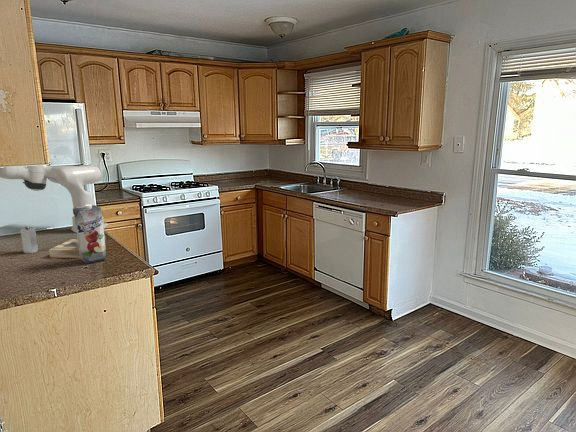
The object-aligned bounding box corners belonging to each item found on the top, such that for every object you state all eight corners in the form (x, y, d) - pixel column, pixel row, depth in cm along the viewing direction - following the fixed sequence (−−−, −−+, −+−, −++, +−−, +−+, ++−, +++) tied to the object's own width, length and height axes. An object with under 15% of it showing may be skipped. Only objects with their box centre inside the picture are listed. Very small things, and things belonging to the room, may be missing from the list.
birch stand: (71, 246, 212) (69, 232, 210) (101, 246, 211) (99, 232, 209) (50, 257, 194) (47, 241, 192) (82, 257, 193) (79, 241, 191)
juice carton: (79, 260, 189) (71, 204, 183) (102, 256, 195) (96, 201, 190) (84, 265, 182) (76, 207, 176) (108, 260, 189) (101, 204, 183)
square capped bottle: (30, 250, 206) (26, 225, 203) (38, 250, 206) (34, 225, 203) (23, 253, 202) (19, 227, 199) (32, 253, 201) (28, 228, 199)
